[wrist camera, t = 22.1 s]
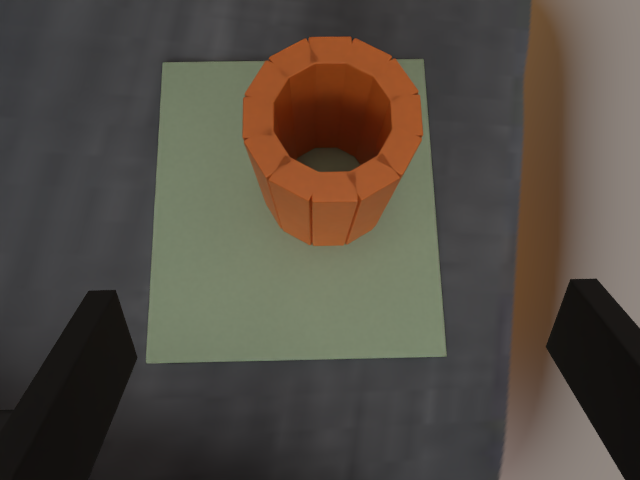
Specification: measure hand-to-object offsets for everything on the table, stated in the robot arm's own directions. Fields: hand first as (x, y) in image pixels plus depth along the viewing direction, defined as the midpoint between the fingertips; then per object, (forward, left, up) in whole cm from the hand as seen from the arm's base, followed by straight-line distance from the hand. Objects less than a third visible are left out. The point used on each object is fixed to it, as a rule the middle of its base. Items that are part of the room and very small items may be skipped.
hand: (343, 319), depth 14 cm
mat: (-2, +8, -15) cm, 17 cm away
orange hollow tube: (0, +9, -14) cm, 17 cm away
